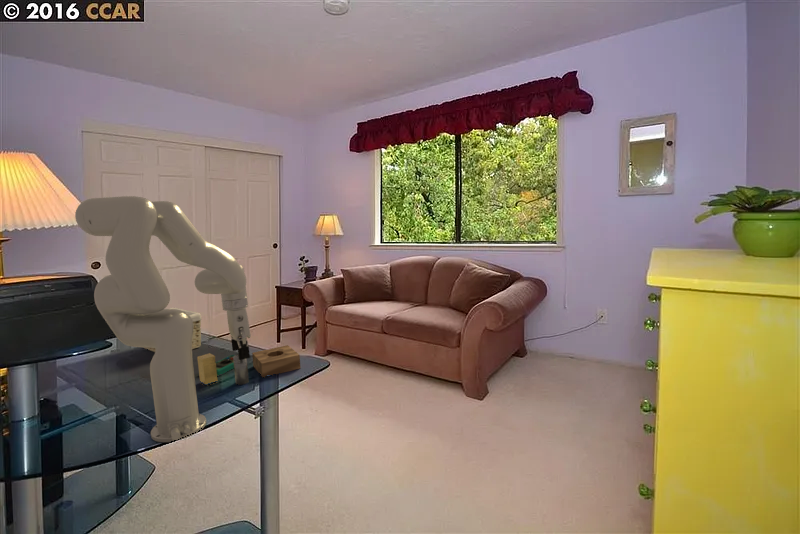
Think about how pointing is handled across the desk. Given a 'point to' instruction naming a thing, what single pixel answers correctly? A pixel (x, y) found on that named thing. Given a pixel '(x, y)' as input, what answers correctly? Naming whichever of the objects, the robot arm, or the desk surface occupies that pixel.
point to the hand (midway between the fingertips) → (241, 354)
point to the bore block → (276, 360)
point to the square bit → (207, 368)
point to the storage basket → (196, 329)
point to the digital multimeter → (225, 365)
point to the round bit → (240, 370)
